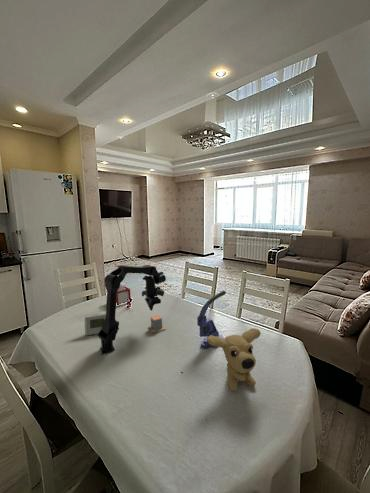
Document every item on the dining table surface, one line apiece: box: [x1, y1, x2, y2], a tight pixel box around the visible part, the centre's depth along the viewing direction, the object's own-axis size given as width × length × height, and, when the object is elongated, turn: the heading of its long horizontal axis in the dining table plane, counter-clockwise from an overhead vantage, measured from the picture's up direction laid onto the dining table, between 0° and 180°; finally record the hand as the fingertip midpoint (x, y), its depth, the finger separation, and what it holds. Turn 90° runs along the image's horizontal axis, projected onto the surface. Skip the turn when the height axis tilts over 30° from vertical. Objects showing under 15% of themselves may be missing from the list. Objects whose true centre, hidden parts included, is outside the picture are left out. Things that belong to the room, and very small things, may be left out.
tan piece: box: [147, 325, 166, 334], centre depth 144 cm, size 8×8×6 cm
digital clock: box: [84, 313, 106, 336], centre depth 141 cm, size 16×9×11 cm, turn 96°
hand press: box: [196, 290, 227, 350], centre depth 127 cm, size 19×9×28 cm, turn 127°
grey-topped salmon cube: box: [150, 314, 163, 330], centre depth 144 cm, size 5×5×7 cm
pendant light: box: [115, 264, 132, 305], centre depth 185 cm, size 11×11×30 cm
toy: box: [206, 327, 261, 392], centre depth 98 cm, size 25×20×20 cm
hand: (151, 310), depth 144 cm, fingers closed
